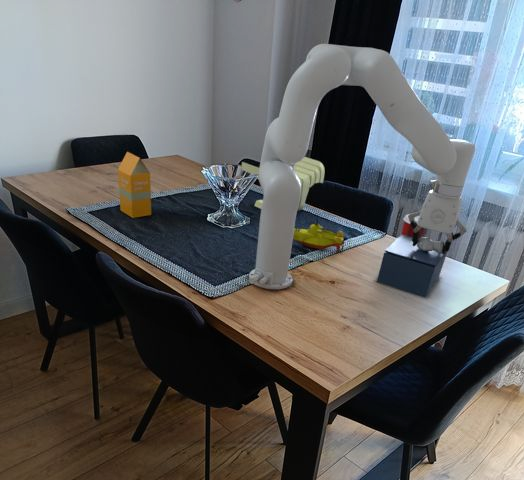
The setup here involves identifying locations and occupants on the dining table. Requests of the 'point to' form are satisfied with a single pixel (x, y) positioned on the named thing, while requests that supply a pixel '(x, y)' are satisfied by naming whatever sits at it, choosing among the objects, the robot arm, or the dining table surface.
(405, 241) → the flap
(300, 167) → the slatted curved stool
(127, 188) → the orange juice
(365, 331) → the dining table surface
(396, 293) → the dining table surface
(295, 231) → the toy boat
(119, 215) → the dining table surface
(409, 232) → the paper cup
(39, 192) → the dining table surface
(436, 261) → the carton
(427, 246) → the pale two-lobed sculpture
